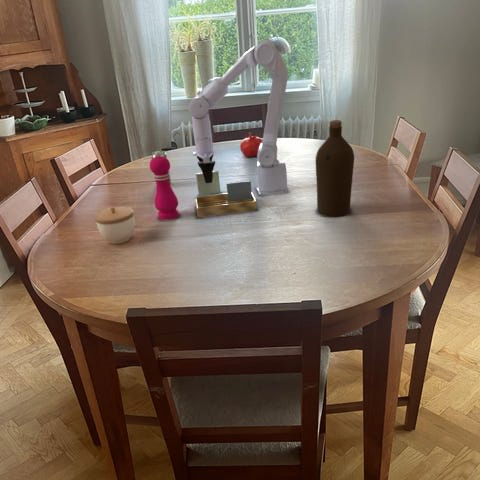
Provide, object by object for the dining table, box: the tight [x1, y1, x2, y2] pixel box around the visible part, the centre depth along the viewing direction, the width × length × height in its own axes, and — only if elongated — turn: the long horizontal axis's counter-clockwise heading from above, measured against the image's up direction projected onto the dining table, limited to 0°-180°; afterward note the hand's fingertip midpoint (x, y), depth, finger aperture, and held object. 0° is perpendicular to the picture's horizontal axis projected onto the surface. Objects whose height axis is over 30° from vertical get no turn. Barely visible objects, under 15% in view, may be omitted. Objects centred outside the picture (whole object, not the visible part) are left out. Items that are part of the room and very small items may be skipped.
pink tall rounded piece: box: [150, 150, 172, 185], centre depth 173 cm, size 5×5×12 cm
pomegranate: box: [239, 131, 263, 158], centre depth 199 cm, size 10×10×9 cm
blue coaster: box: [225, 180, 253, 202], centre depth 149 cm, size 8×1×8 cm, turn 97°
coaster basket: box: [194, 192, 258, 218], centre depth 150 cm, size 18×11×3 cm, turn 97°
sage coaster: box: [195, 170, 222, 196], centre depth 162 cm, size 8×1×8 cm, turn 97°
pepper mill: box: [149, 150, 180, 221], centre depth 144 cm, size 7×7×20 cm
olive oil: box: [315, 119, 355, 218], centre depth 135 cm, size 11×11×25 cm
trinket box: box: [93, 206, 136, 244], centre depth 135 cm, size 11×11×9 cm
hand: (208, 179), depth 161 cm, fingers open, 7 cm apart
